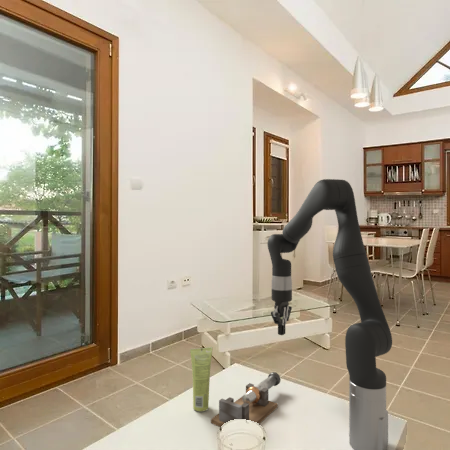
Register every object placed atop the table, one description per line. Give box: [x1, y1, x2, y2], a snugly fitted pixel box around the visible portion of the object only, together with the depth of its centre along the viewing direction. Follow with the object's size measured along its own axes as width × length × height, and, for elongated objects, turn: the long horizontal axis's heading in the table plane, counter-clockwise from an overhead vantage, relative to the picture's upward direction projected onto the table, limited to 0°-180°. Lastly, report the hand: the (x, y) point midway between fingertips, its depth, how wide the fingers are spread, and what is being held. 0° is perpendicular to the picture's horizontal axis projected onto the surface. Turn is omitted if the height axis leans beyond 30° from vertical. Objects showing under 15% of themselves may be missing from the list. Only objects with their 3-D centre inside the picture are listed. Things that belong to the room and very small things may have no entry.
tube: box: [189, 346, 214, 412], centre depth 115 cm, size 6×5×20 cm
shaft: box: [241, 371, 282, 405], centre depth 119 cm, size 5×19×5 cm, turn 144°
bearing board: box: [210, 382, 278, 428], centre depth 111 cm, size 12×20×7 cm, turn 144°
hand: (281, 334), depth 131 cm, fingers closed
